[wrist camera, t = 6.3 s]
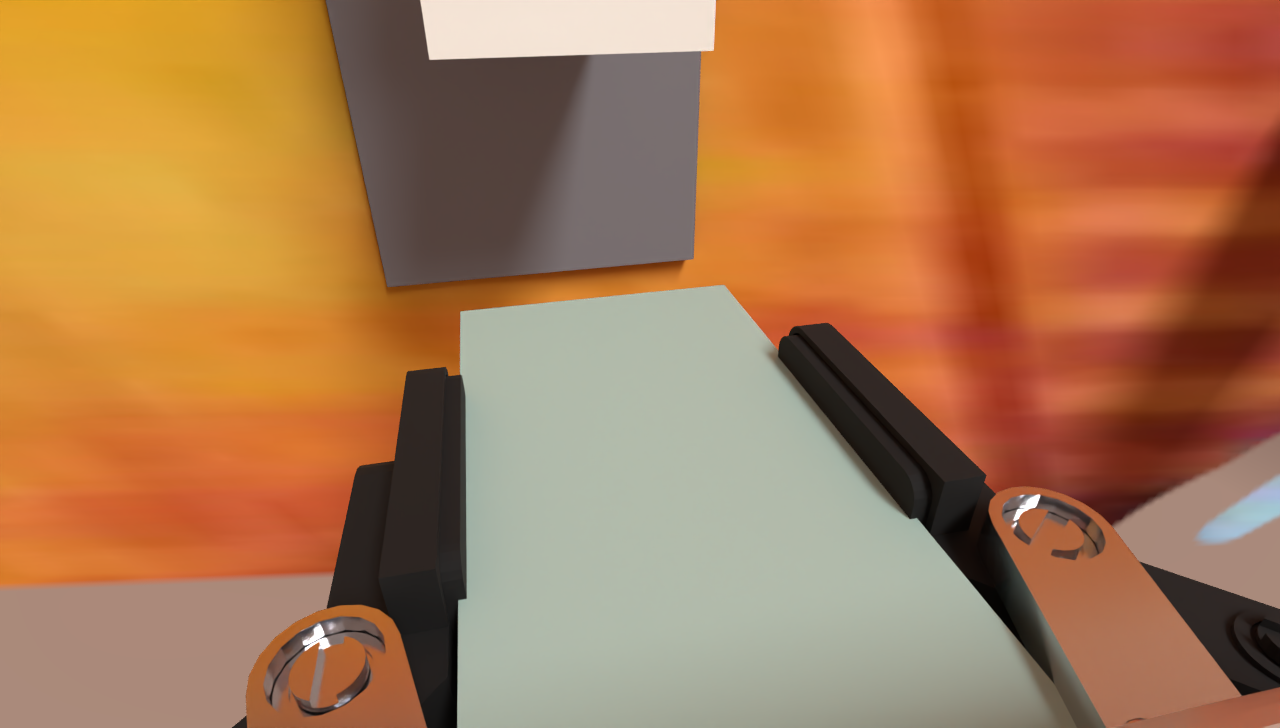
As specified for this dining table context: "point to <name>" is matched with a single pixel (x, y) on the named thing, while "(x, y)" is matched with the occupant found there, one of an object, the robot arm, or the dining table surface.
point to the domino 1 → (565, 27)
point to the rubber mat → (516, 152)
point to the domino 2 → (698, 541)
